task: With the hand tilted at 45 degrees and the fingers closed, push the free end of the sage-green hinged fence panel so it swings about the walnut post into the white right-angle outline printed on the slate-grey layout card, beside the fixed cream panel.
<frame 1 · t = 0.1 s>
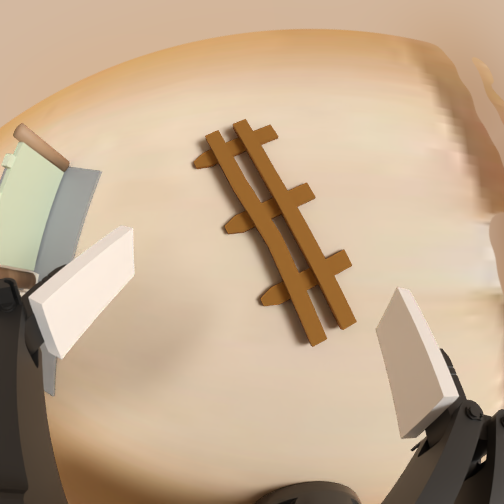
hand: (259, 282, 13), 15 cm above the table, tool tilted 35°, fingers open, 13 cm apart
hinge post: (33, 281, 29), resting on layout card
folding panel: (21, 201, 24), point 6 cm above the table, hinge at 0.0°
layout card: (15, 264, 29), on the table
decorative fence: (276, 226, 30), on the table
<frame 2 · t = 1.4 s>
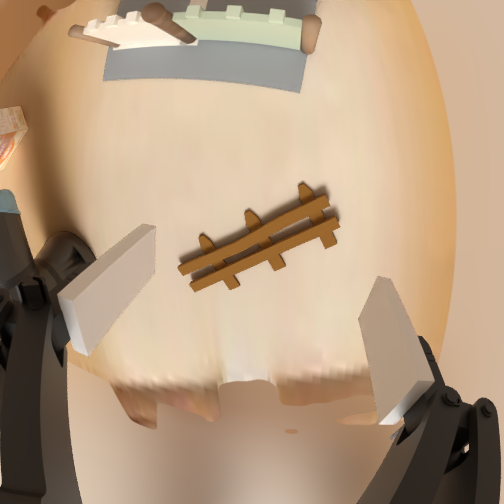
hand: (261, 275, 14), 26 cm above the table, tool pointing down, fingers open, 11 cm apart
hinge post: (191, 38, 30), resting on layout card
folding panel: (249, 27, 24), point 6 cm above the table, hinge at 0.0°
fixed panel: (126, 31, 25), resting on layout card
layout card: (204, 9, 27), on the table
coffeecake box: (11, 138, 39), on the table
decorative fence: (254, 243, 43), on the table
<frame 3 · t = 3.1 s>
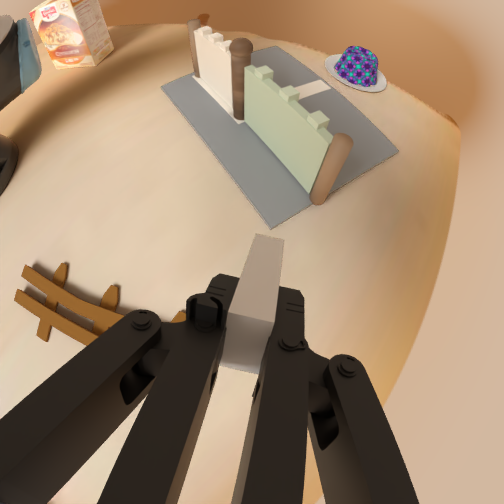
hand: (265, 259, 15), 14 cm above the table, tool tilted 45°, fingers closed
hinge post: (241, 117, 36), resting on layout card
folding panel: (287, 128, 28), point 6 cm above the table, hinge at 0.0°
fixed panel: (213, 63, 32), resting on layout card
layout card: (274, 109, 36), on the table
coffeecake box: (84, 59, 43), on the table
pudding: (355, 75, 41), on the table
decorative fence: (93, 323, 28), on the table
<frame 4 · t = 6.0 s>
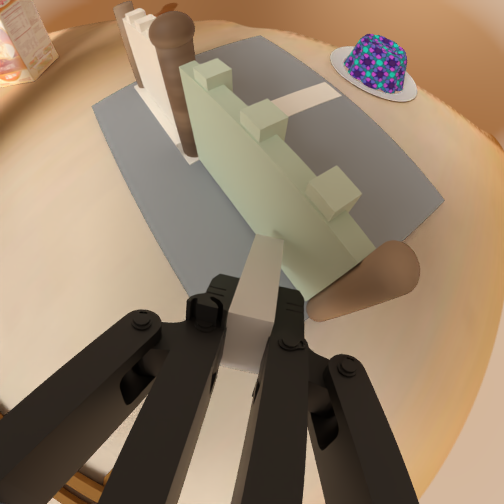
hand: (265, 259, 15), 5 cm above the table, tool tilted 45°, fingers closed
hinge post: (196, 150, 23), resting on layout card
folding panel: (265, 190, 15), point 6 cm above the table, hinge at 0.4°, touching gripper
fixed panel: (151, 64, 19), resting on layout card
layout card: (252, 133, 23), on the table
coffeecake box: (27, 73, 30), on the table
pudding: (373, 75, 28), on the table
decorative fence: (27, 445, 14), on the table
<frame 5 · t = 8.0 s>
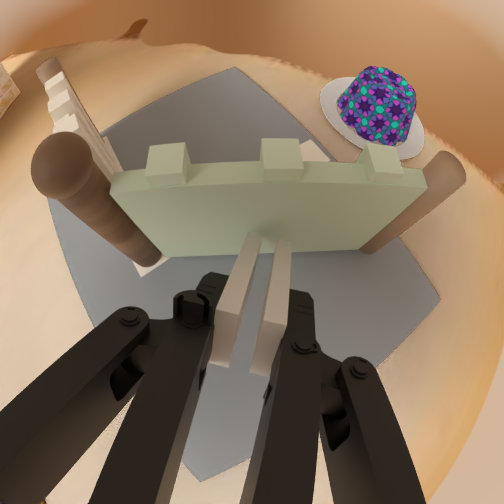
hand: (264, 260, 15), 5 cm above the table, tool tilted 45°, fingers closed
hinge post: (149, 254, 20), resting on layout card
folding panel: (288, 213, 14), point 6 cm above the table, hinge at 58.2°, touching gripper
fixed panel: (86, 145, 16), resting on layout card
layout card: (213, 228, 20), on the table
pudding: (372, 118, 25), on the table
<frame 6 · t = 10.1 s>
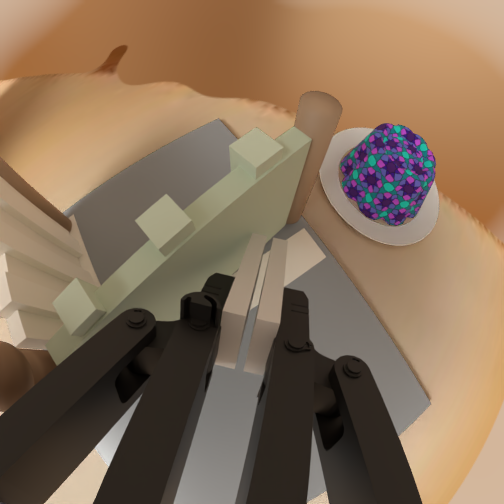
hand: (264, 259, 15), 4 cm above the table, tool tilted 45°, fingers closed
hinge post: (126, 365, 17), resting on layout card
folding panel: (206, 252, 13), point 6 cm above the table, hinge at 100.1°, touching gripper
fixed panel: (42, 257, 14), resting on layout card
layout card: (190, 343, 18), on the table
pudding: (380, 185, 23), on the table
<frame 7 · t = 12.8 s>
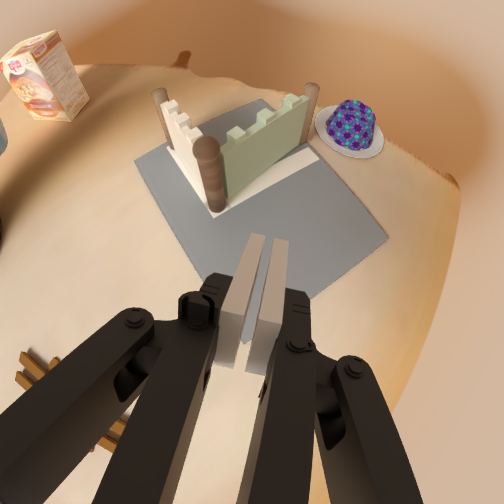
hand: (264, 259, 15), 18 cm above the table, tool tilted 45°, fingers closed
hinge post: (217, 207, 36), resting on layout card
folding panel: (270, 138, 32), point 6 cm above the table, hinge at 100.2°
fixed panel: (184, 143, 32), resting on layout card
layout card: (254, 194, 37), on the table
coffeecake box: (60, 109, 44), on the table
pudding: (348, 133, 41), on the table
decorative fence: (86, 412, 27), on the table
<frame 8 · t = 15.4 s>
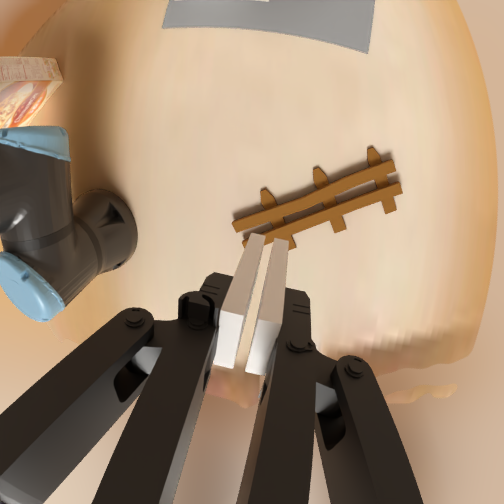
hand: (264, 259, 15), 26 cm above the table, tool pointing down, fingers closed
coffeecake box: (40, 93, 36), on the table
decorative fence: (317, 203, 41), on the table
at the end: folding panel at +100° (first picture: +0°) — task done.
